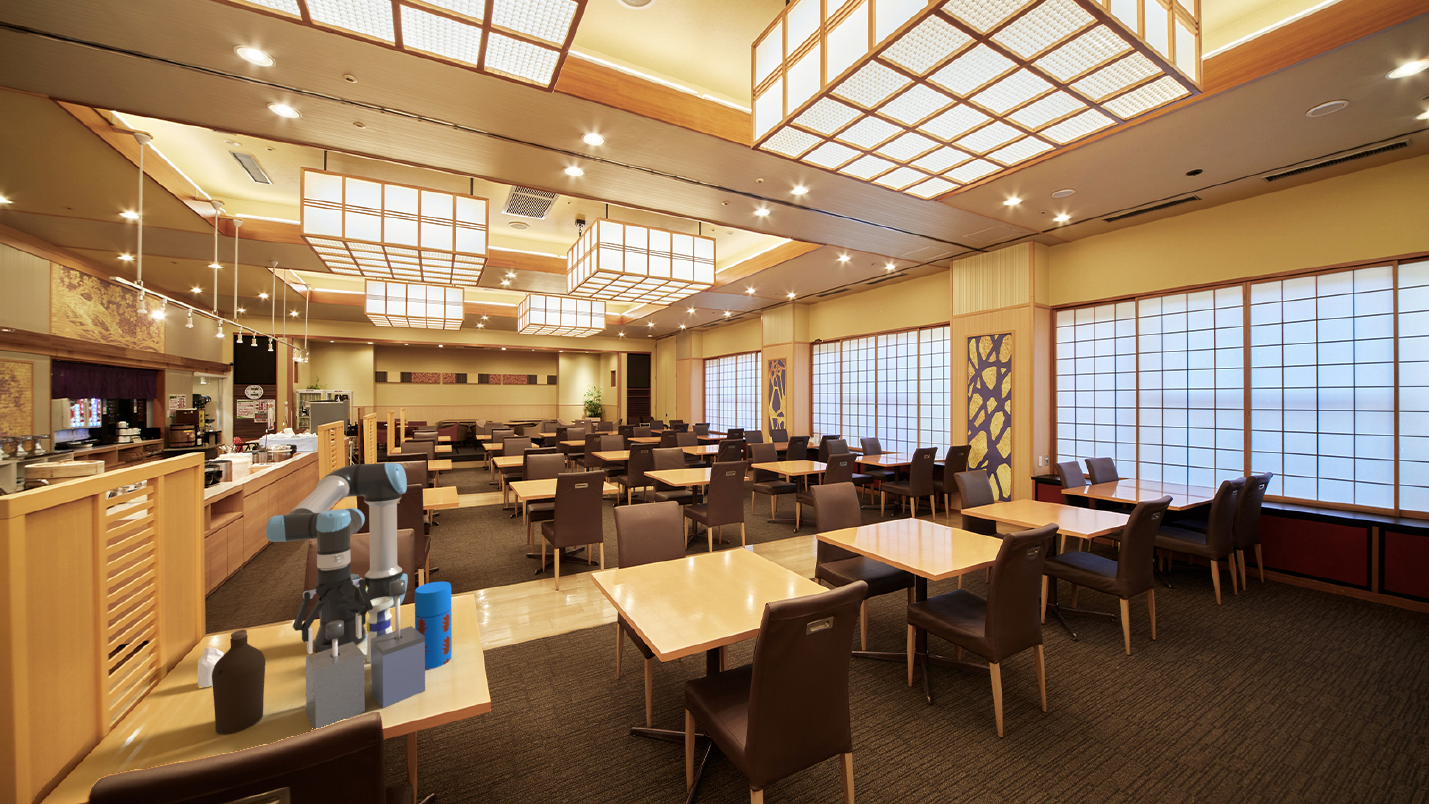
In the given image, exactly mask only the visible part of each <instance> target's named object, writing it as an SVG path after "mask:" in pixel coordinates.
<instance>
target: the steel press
mask: <svg viewBox="0 0 1429 804" xmlns="http://www.w3.org/2000/svg"><path fill="white" fill-rule="evenodd" d="M305 695H306V696H305V698H306V699H305V706H306V707H305V708H306V710H305V711H306V712H305V713H306V714H305V715H306V717H307V719H308V721H309V723H310V724H311V726H312V728H313V730H314V729H316V728H321V727H324V726H326V725H330V724H332V723H335V722H337V721H340V720H343V719H346V720H348V719H350V718H354V717H355V716H358V715H361V714H363V713H365V710H366V709H365V708H366V707H365V706H366V703H365V698H366V697H365V695H366V694H365V652H363V651H362V650H361V649H360V648H359V646H357V645H355V643H354V642H350V643H347V644H344V645H341V646H338V656H336V657H333V658H332V648H331V649H328V650H325V651H322V652H317V653H316V652H315V653H312V654H308V655H306V656H305Z"/></svg>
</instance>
